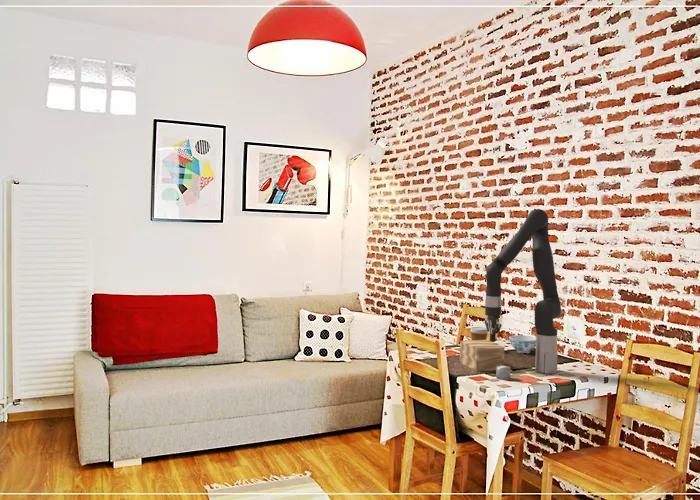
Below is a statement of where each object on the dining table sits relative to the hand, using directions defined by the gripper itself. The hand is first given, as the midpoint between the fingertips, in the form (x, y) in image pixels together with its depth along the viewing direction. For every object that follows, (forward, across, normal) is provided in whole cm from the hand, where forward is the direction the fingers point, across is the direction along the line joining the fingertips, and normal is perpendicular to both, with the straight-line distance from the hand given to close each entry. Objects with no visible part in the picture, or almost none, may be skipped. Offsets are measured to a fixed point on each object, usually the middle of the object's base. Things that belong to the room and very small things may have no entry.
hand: (492, 341), depth 289 cm
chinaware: (+12, +25, -32) cm, 42 cm away
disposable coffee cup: (+12, +33, -10) cm, 37 cm away
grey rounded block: (+12, -23, +7) cm, 26 cm away
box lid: (+2, 0, +5) cm, 6 cm away
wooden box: (+12, 0, +6) cm, 13 cm away
